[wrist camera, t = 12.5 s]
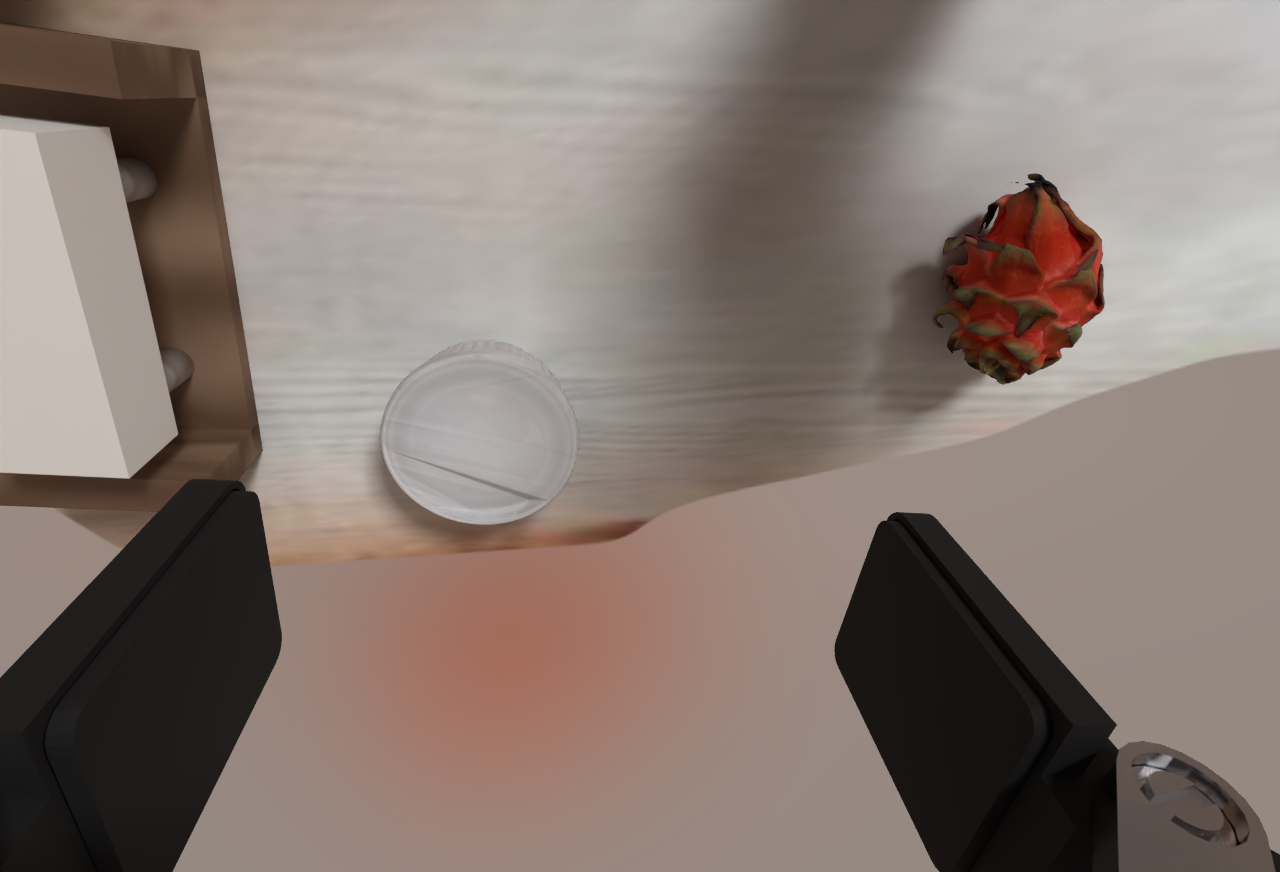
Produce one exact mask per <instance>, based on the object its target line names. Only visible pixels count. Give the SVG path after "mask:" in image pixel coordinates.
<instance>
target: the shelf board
mask: <svg viewBox="0 0 1280 872" xmlns="http://www.w3.org/2000/svg"><path fill="white" fill-rule="evenodd" d="M177 435H178V431H177V426H176V422H175V417H174V413H173V409H172V404H171V400H170V395H169V391H168V386H167V382H166V377H165V373H164V369H163V364H162V360H161V355H160V351H159V346H158V342H157V337H156V333H155V329H154V324H153V320H152V315H151V311H150V306H149V302H148V297H147V293H146V289H145V284H144V280H143V275H142V271H141V266H140V262H139V257H138V253H137V249H136V244H135V240H134V235H133V231H132V226H131V222H130V217H129V213H128V209H127V204H126V200H125V195H124V191H123V186H122V182H121V177H120V173H119V169H118V164H117V160H116V155H115V151H114V146H113V142H112V138H111V133H110V129H109V127H105V126H97V125H89V124H81V123H72V122H64V121H56V120H48V119H40V118H32V117H24V116H15V115H7V114H0V473H21V474H42V475H64V476H85V477H107V478H128V479H129V478H131V477H132V476H133V475H134V474H135V473H136V472H137V471H138V470H139V469H140V468H142V467H143V466H144V465H145V464H146V463H147V462H148V461H149V460H150V459H152V458H153V457H154V456H155V455H156V454H157V453H158V452H159V451H160V450H162V449H163V448H164V447H165V446H166V445H167V444H168V443H169V442H170V441H171V440H173V439H174V438H175V437H176V436H177Z"/></svg>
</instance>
